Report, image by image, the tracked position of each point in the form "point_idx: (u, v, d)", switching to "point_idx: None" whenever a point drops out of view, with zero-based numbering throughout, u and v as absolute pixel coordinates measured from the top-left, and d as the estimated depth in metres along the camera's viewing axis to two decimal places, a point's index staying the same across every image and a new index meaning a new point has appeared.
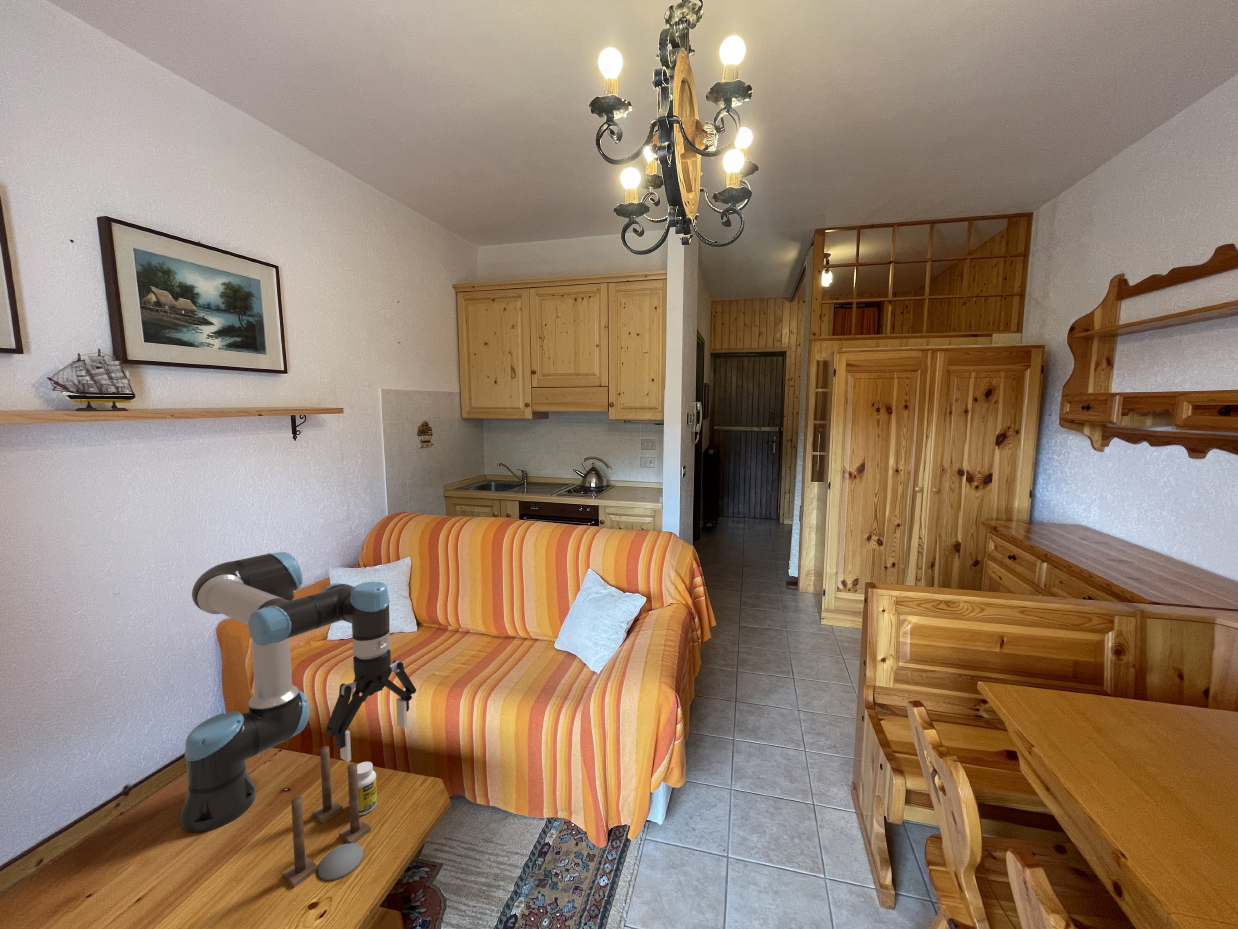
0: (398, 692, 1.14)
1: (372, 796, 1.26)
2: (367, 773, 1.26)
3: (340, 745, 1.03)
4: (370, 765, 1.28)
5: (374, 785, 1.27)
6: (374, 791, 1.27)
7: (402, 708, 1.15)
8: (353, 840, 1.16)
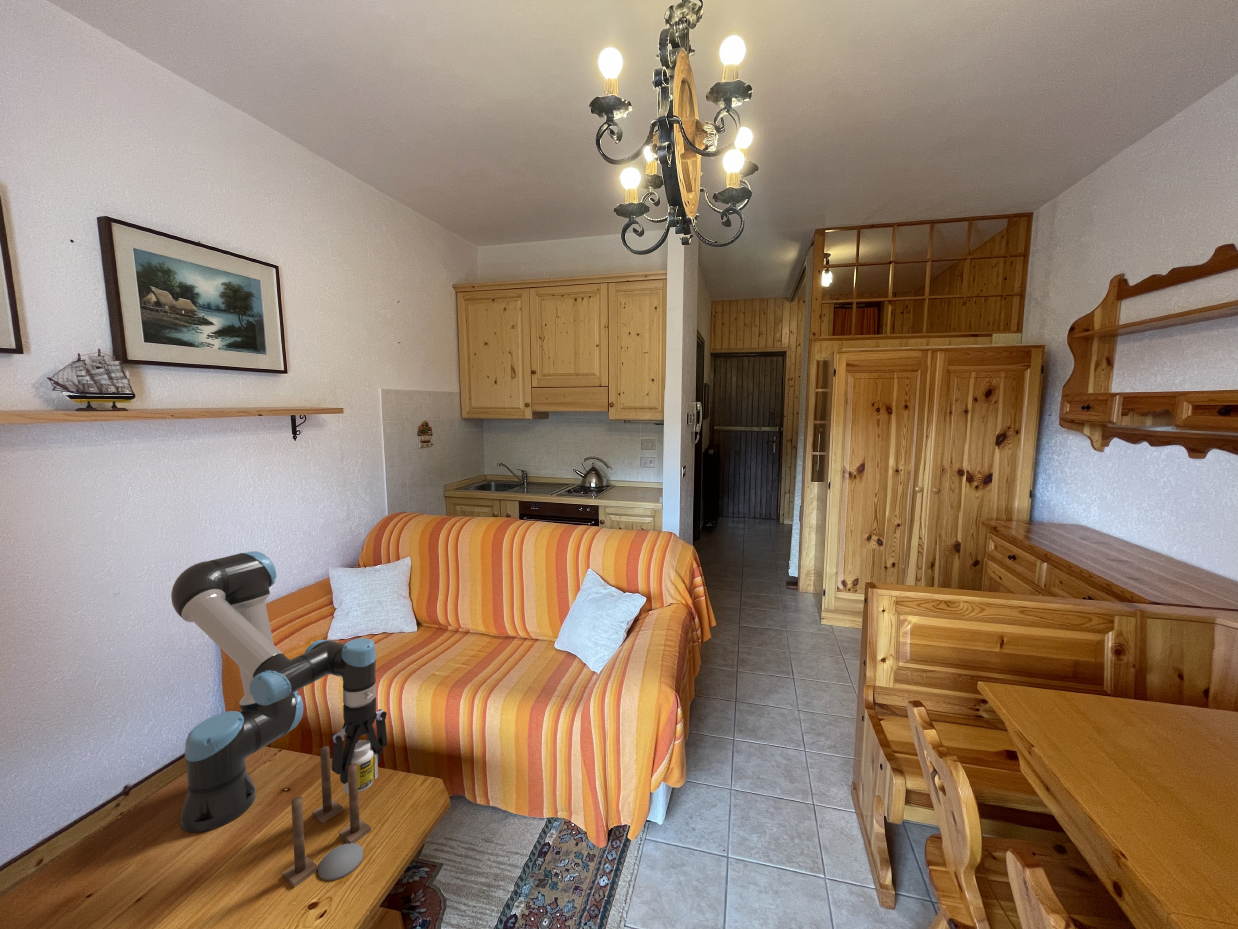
0: (374, 742, 1.28)
1: (369, 774, 1.26)
2: (365, 751, 1.25)
3: (343, 781, 1.22)
4: (367, 743, 1.27)
5: (371, 763, 1.27)
6: (371, 769, 1.27)
7: (373, 760, 1.29)
8: (353, 840, 1.16)
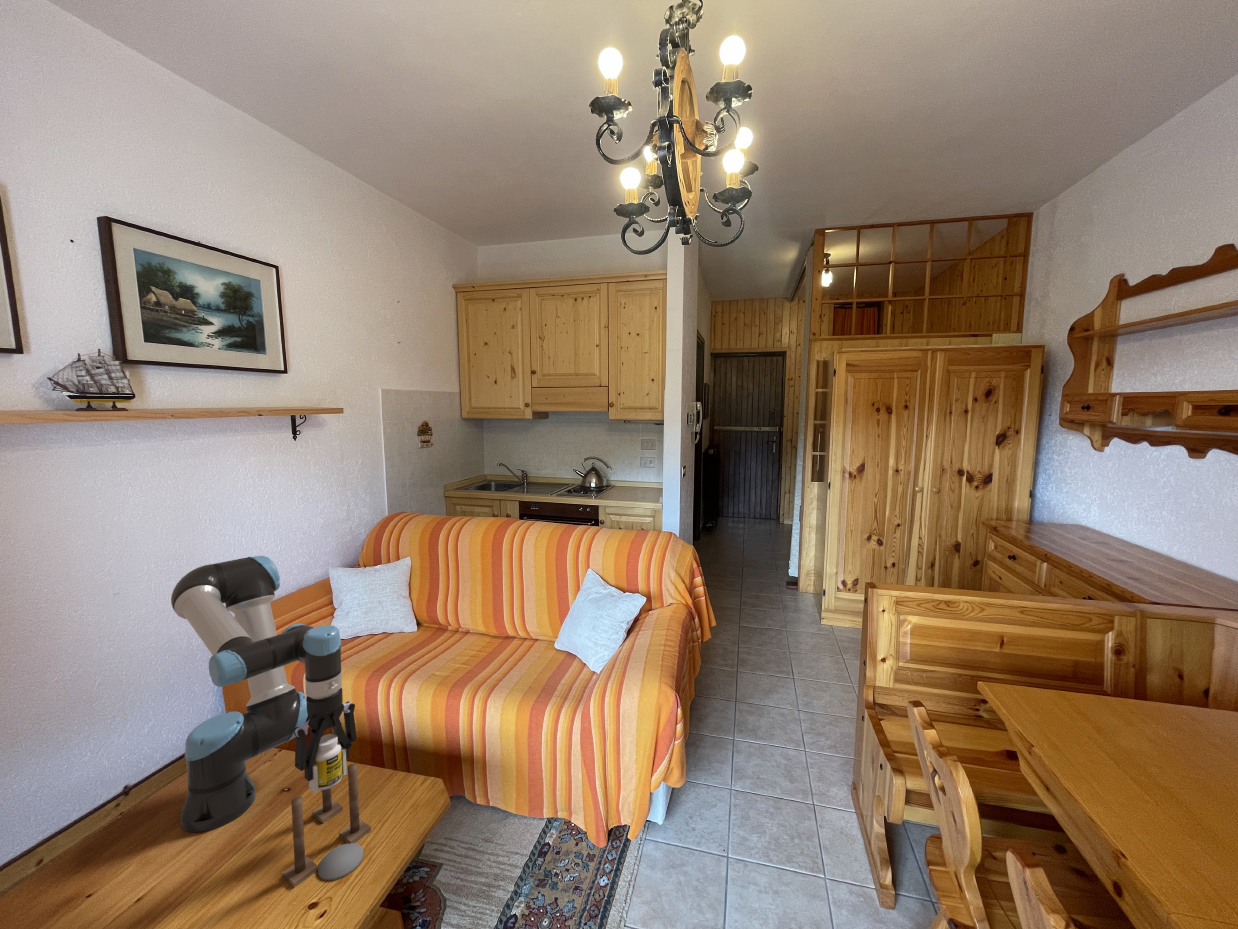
0: (341, 736, 1.21)
1: (336, 770, 1.18)
2: (331, 746, 1.18)
3: (308, 778, 1.15)
4: (334, 737, 1.20)
5: (339, 758, 1.19)
6: (339, 765, 1.19)
7: (342, 756, 1.21)
8: (353, 840, 1.16)
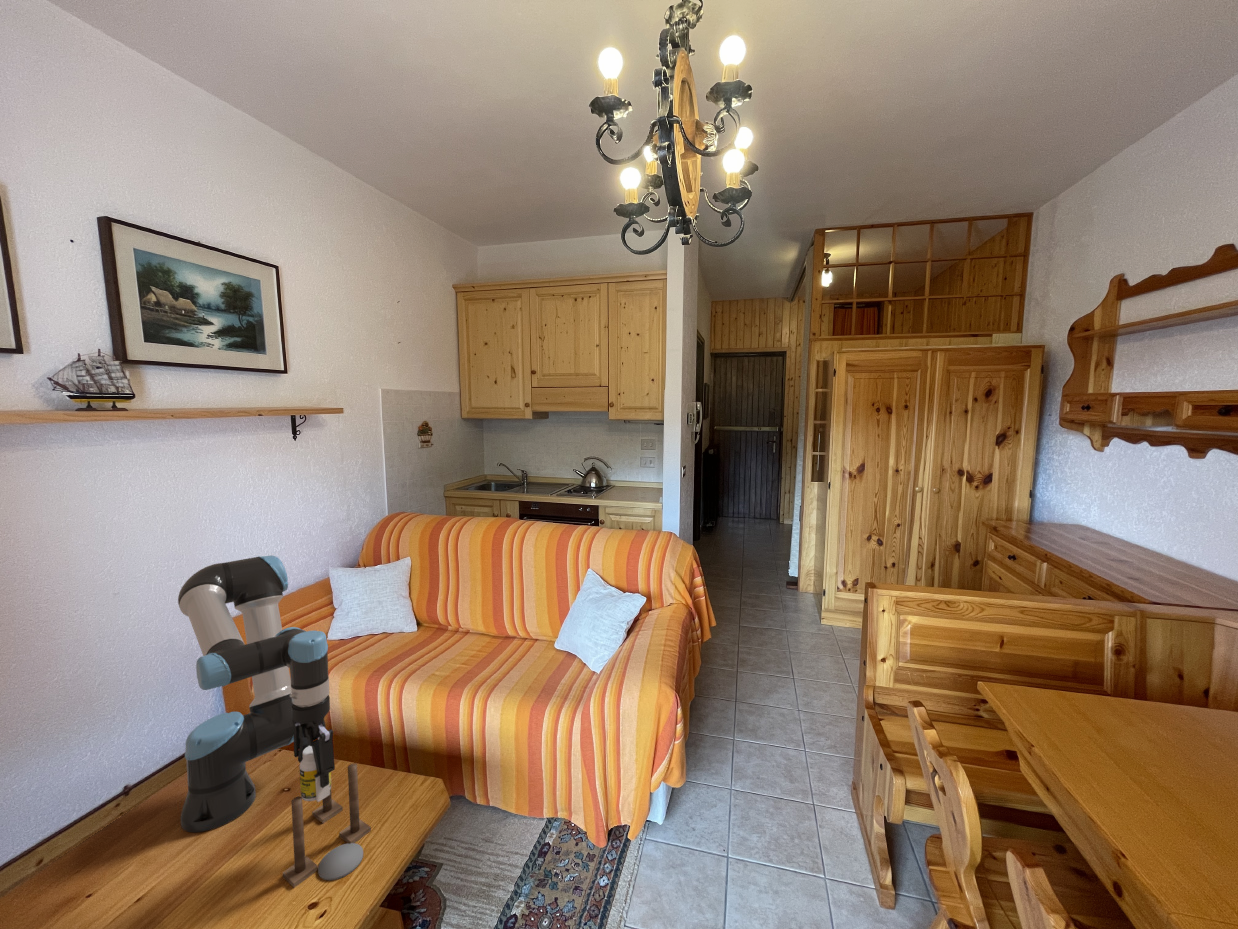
0: (314, 758, 1.12)
1: (303, 786, 1.13)
2: (303, 757, 1.13)
3: None
4: None
5: (306, 777, 1.12)
6: (306, 783, 1.12)
7: None
8: (353, 840, 1.16)
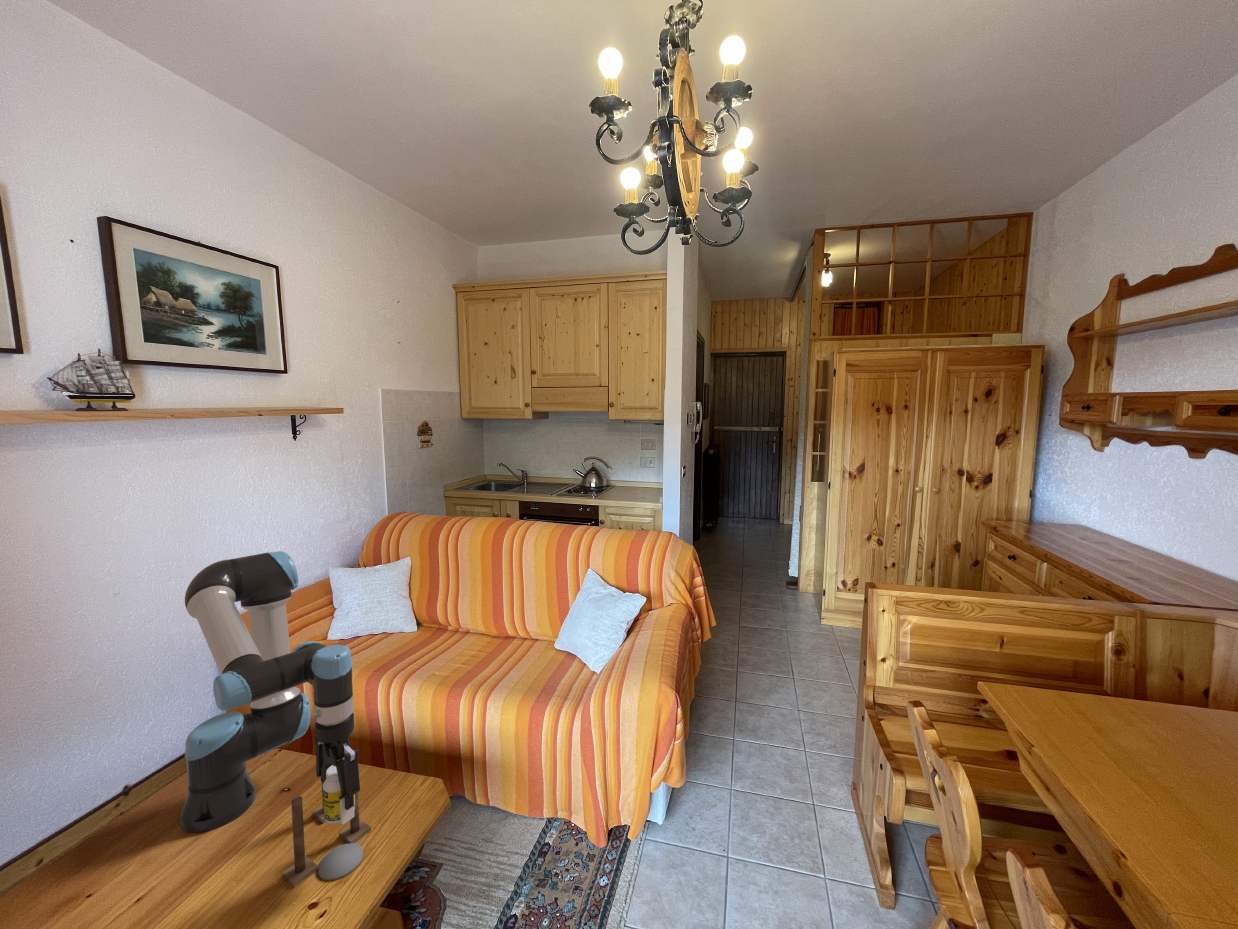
0: (339, 779, 1.07)
1: (327, 808, 1.07)
2: (327, 778, 1.08)
3: None
4: None
5: (330, 798, 1.07)
6: (330, 805, 1.07)
7: None
8: (353, 840, 1.16)
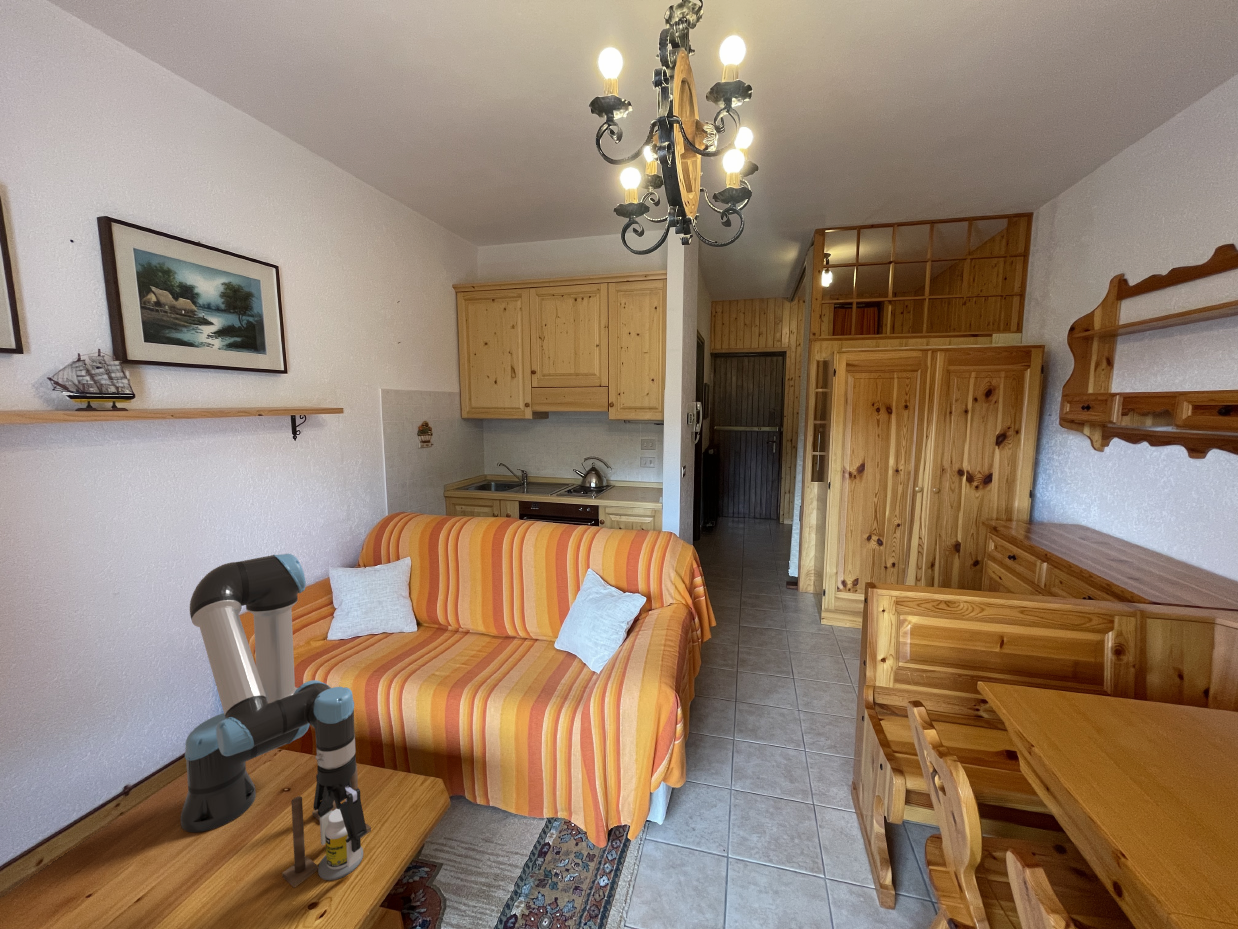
0: (344, 822, 1.07)
1: (329, 854, 1.08)
2: (329, 824, 1.09)
3: None
4: (340, 819, 1.09)
5: (332, 845, 1.08)
6: (332, 851, 1.08)
7: None
8: None
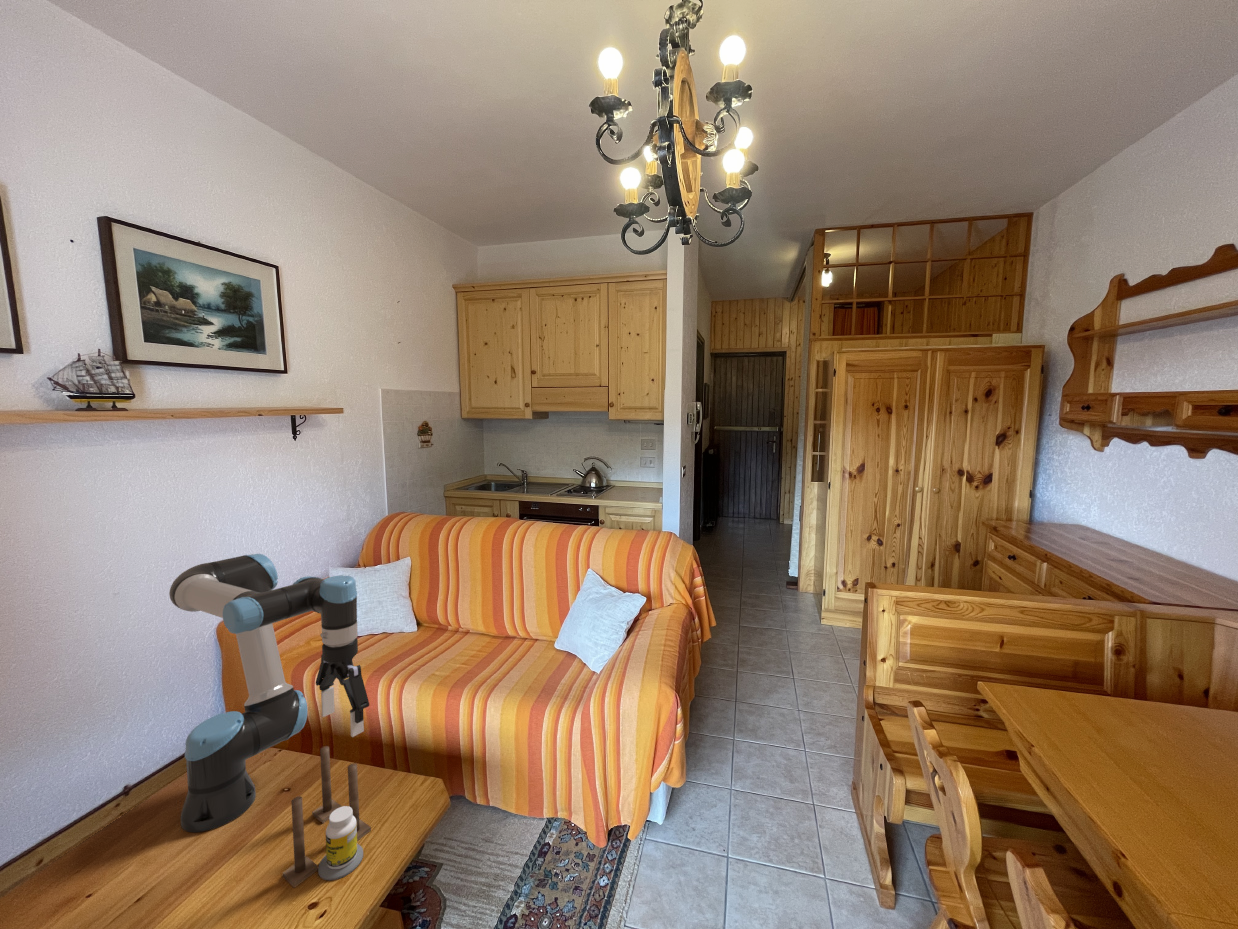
0: (348, 695, 1.15)
1: (329, 854, 1.08)
2: (330, 824, 1.09)
3: None
4: (340, 819, 1.09)
5: (332, 844, 1.08)
6: (332, 851, 1.08)
7: None
8: None
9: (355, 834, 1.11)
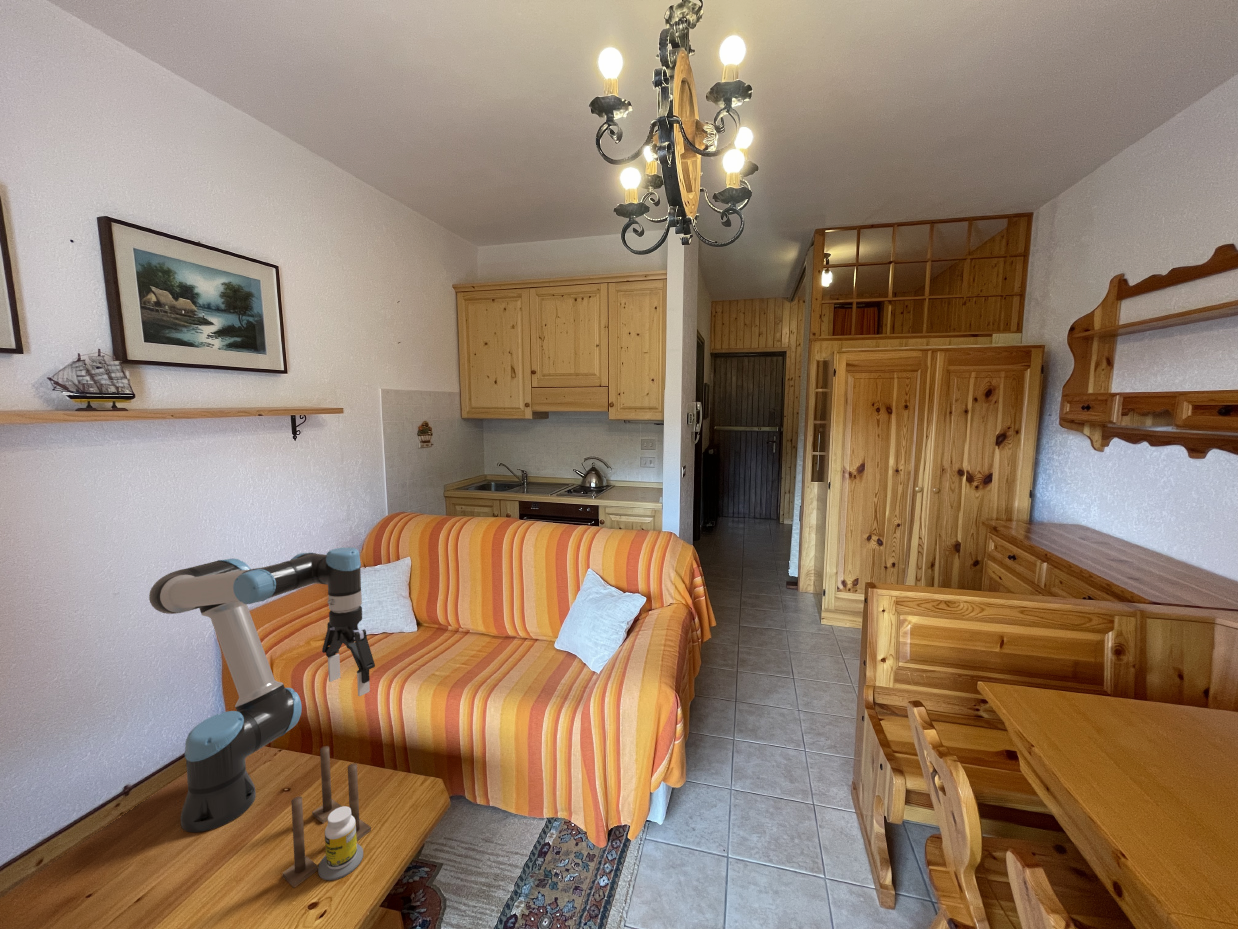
0: (354, 658, 1.23)
1: (329, 854, 1.08)
2: (329, 824, 1.09)
3: None
4: (339, 819, 1.09)
5: (331, 845, 1.08)
6: (331, 851, 1.08)
7: None
8: None
9: (354, 834, 1.11)
